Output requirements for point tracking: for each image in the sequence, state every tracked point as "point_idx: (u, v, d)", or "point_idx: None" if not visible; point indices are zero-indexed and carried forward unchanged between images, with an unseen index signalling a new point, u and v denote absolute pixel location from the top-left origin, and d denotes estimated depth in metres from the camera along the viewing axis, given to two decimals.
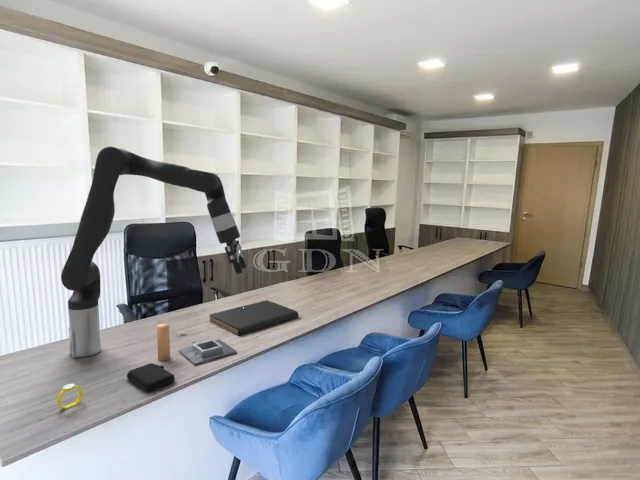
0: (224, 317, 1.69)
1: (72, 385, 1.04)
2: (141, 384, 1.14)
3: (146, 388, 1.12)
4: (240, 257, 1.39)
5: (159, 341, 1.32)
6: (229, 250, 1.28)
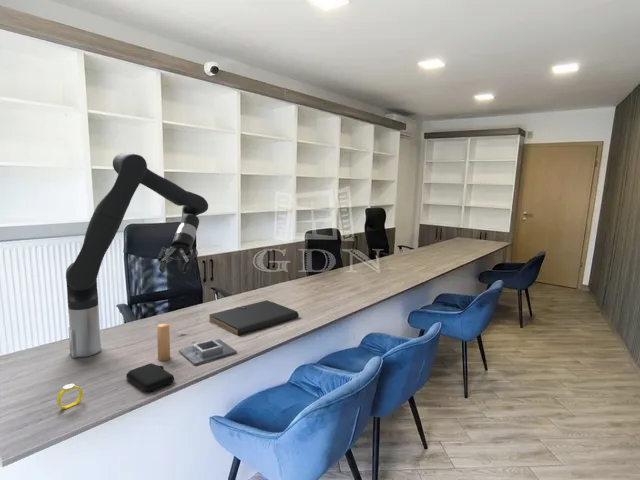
0: (224, 317, 1.69)
1: (72, 385, 1.04)
2: (140, 384, 1.13)
3: (145, 389, 1.12)
4: (165, 262, 1.45)
5: (159, 341, 1.32)
6: (196, 253, 1.47)
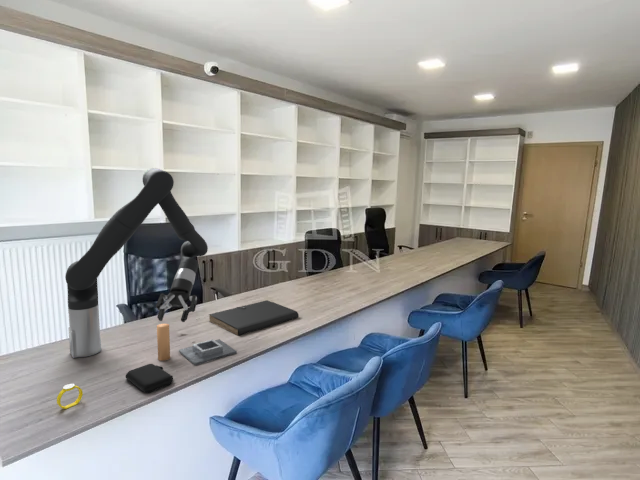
0: (224, 317, 1.69)
1: (72, 385, 1.04)
2: (139, 385, 1.13)
3: (144, 389, 1.12)
4: (164, 310, 1.43)
5: (159, 341, 1.32)
6: (195, 300, 1.44)
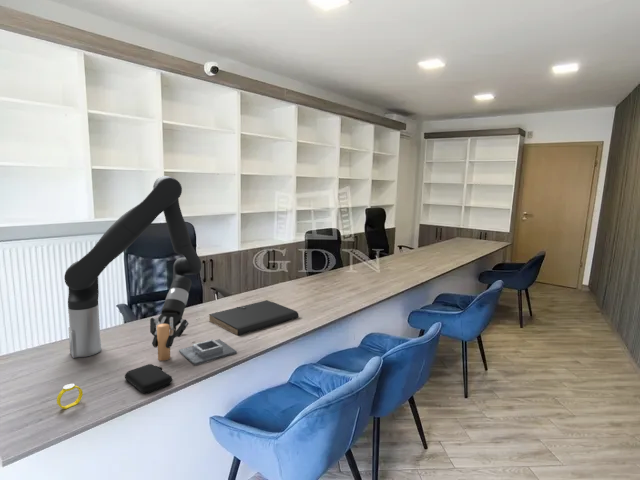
0: (224, 317, 1.69)
1: (72, 385, 1.04)
2: (138, 385, 1.13)
3: (143, 389, 1.11)
4: None
5: (159, 341, 1.32)
6: (185, 325, 1.37)
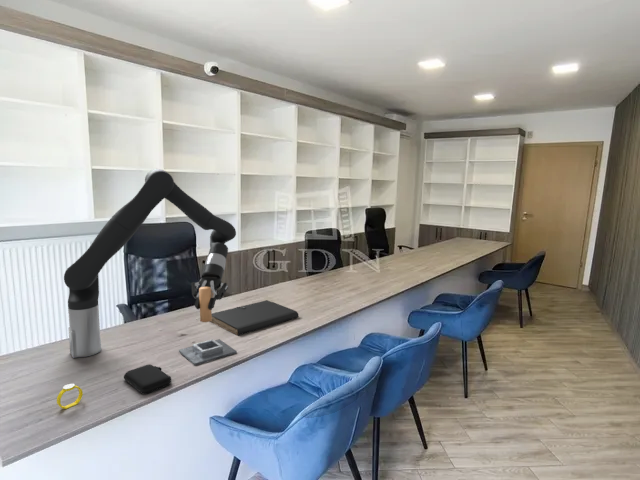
0: (224, 317, 1.69)
1: (72, 385, 1.04)
2: (137, 386, 1.13)
3: (142, 390, 1.11)
4: None
5: (202, 303, 1.36)
6: (225, 288, 1.40)
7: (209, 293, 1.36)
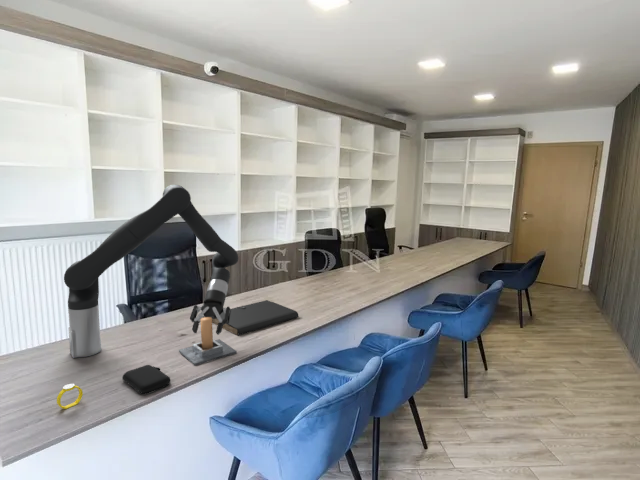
0: (224, 317, 1.69)
1: (72, 385, 1.04)
2: (136, 386, 1.12)
3: (141, 390, 1.11)
4: (198, 322, 1.41)
5: (203, 334, 1.37)
6: (229, 311, 1.43)
7: (210, 324, 1.38)
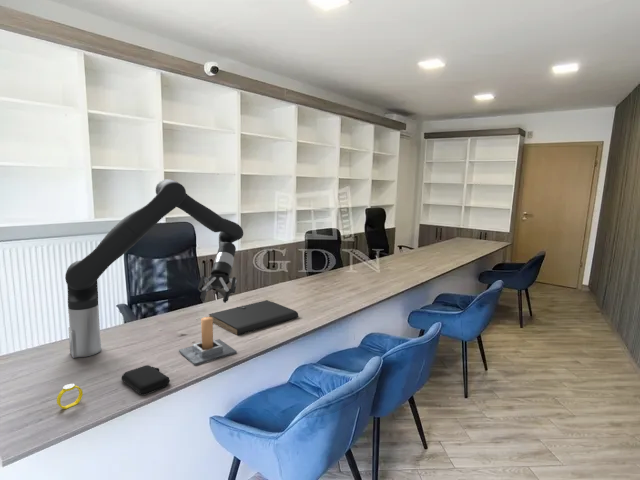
0: (224, 317, 1.69)
1: (72, 385, 1.04)
2: (135, 387, 1.12)
3: (140, 391, 1.10)
4: (205, 291, 1.49)
5: (204, 333, 1.37)
6: (235, 282, 1.50)
7: (211, 324, 1.38)
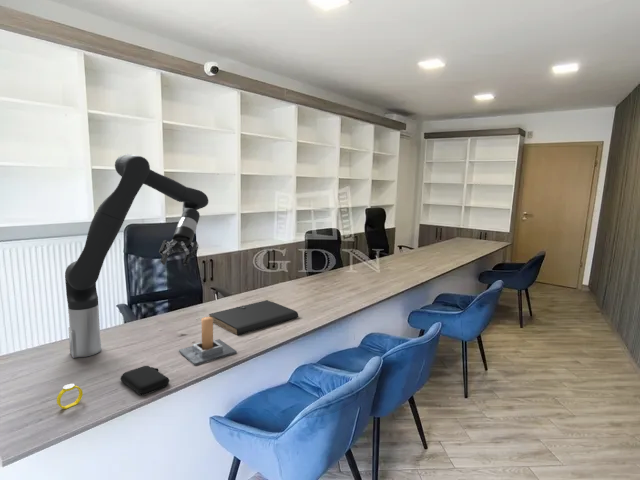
0: (223, 317, 1.69)
1: (72, 385, 1.04)
2: (135, 387, 1.12)
3: (139, 391, 1.10)
4: (166, 255, 1.49)
5: (204, 333, 1.37)
6: (197, 246, 1.51)
7: (211, 324, 1.38)
